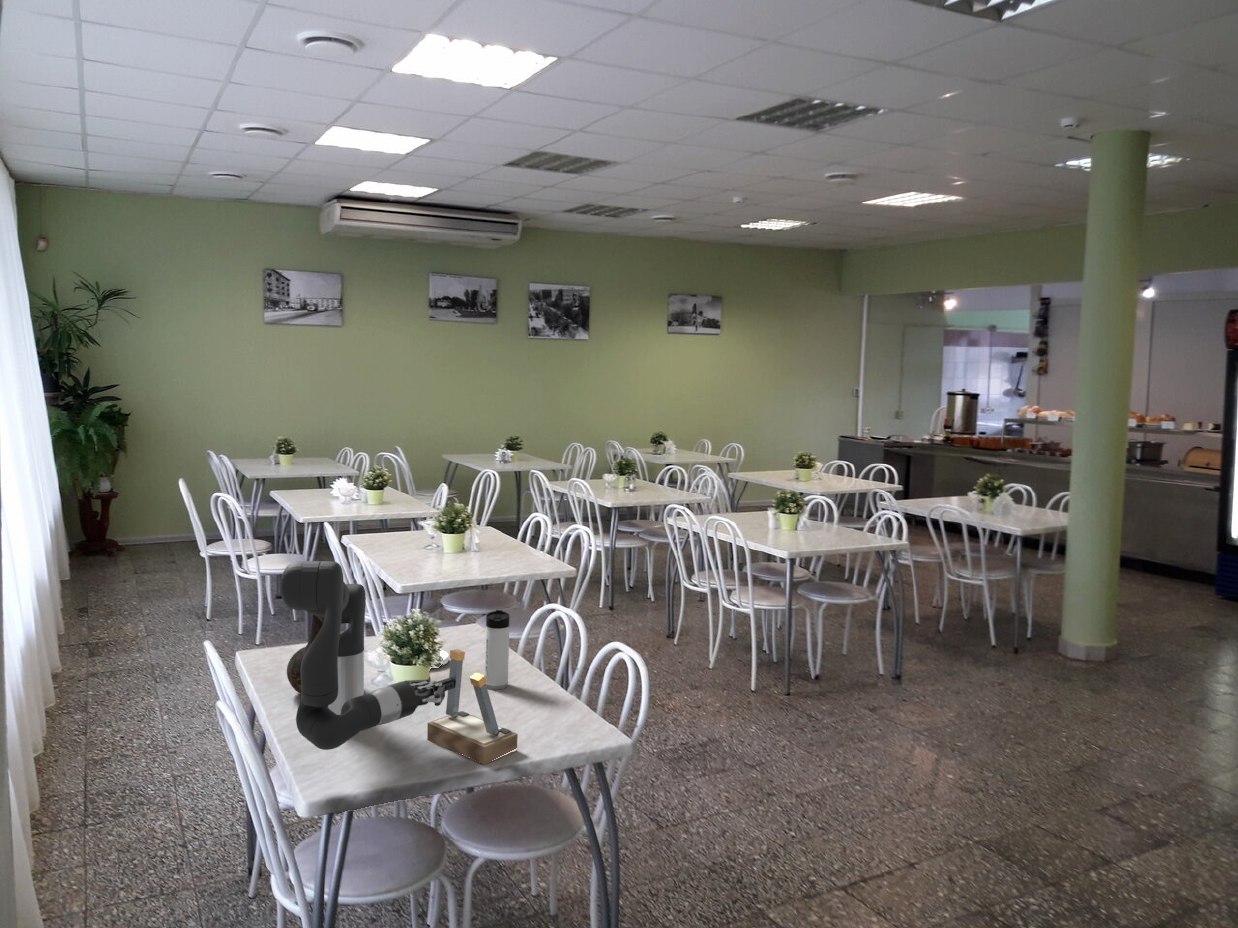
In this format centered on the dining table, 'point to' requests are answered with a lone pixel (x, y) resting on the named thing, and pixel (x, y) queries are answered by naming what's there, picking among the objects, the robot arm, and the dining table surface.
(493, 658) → the travel mug
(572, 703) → the dining table surface
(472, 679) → the lever
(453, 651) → the lever
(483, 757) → the switch unit
